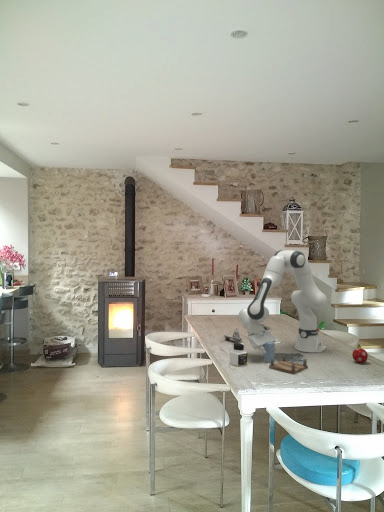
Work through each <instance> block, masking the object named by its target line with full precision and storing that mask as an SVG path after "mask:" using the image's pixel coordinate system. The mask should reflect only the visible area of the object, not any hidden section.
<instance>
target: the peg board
mask: <svg viewBox="0 0 384 512" xmlns="http://www.w3.org/2000/svg"><path fill="white" fill-rule="evenodd" d="M302 361H303V362H302V363H298V362H293V361H289V360H287V354H282V360H281V361H277V362H275V361H274V359H271V363H270V365H269V366H268V369H269V370H270V369H271V370H274V371H279V372H283V373H287V374H291V375H295V374H298V373H300V372H302V371H304V370H307V369H308V368H309V366H308V364H307V363H308V362H307V361H308V360H307V359H306V358H304V359H302Z"/></svg>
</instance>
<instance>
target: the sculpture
mask: <svg viewBox="0 0 384 512" xmlns="http://www.w3.org/2000/svg"><path fill="white" fill-rule="evenodd" d="M223 337H224V341H227V342H228V341H230V340H231V339H232V340H233V341H234V342H235V343H242V342H243V341H242V340H243V338H242V337H241V336H240V331H239V328H238V327H235V330H234V332H233V334H232V335H231V334H223ZM235 343H234V344H235Z"/></svg>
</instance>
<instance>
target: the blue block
mask: <svg viewBox="0 0 384 512" xmlns="http://www.w3.org/2000/svg"><path fill="white" fill-rule="evenodd" d="M263 348H264V349H266V351H267V353H265V354H264V353H263V362H264V361H265V362H266V363H269V364H271V359H274V362H275V359H276V358H275V357H276V355H275V352H276V350H275V348H276V343H275V342H274V343H273V342H266V343H265V345H264V347H263Z"/></svg>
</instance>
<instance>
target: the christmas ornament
mask: <svg viewBox="0 0 384 512" xmlns="http://www.w3.org/2000/svg"><path fill="white" fill-rule="evenodd" d="M351 353H352V354H351V355H352V359H353V360H354V362H356V363H358V364H363V363H366V362H367V361H368V359H369V353H368V351H366V349H364V348H363V347H362V346H361V345H359V347H357V348H355V349H354V350H353V351H352V352H351Z"/></svg>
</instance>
